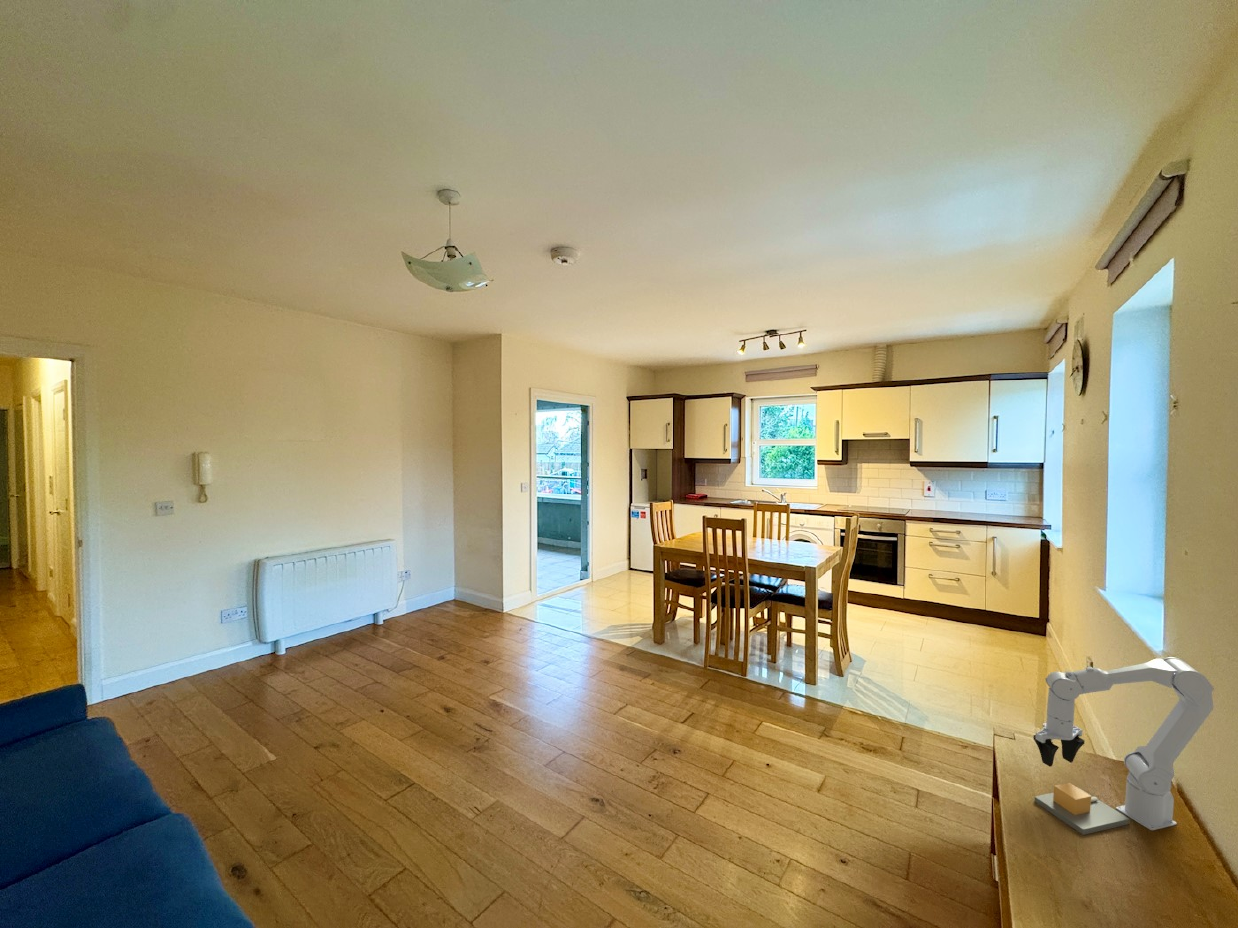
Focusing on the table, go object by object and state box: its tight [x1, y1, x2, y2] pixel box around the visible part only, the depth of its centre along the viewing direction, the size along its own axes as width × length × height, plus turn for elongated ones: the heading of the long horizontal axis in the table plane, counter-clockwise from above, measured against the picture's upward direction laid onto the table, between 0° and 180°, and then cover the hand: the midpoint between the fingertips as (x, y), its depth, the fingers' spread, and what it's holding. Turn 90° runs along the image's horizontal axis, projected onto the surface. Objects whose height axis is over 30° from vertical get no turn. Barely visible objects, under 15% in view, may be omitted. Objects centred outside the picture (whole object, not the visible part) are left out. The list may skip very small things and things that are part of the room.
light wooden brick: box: [1053, 782, 1092, 815], centre depth 136 cm, size 5×5×4 cm
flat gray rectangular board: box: [1034, 787, 1130, 836], centre depth 136 cm, size 16×12×4 cm
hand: (1057, 762), depth 143 cm, fingers open, 7 cm apart
